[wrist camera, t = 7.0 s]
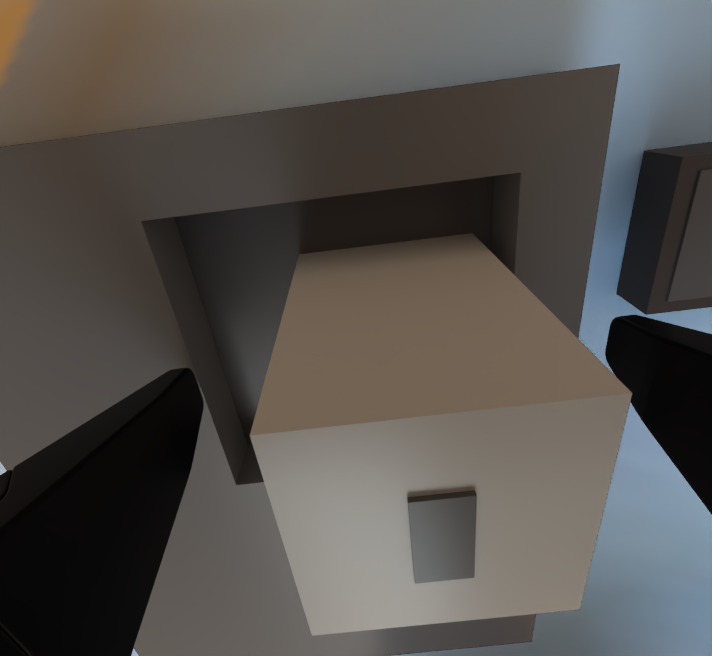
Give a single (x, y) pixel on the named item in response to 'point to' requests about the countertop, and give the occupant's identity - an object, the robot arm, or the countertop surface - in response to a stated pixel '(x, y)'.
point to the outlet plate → (268, 297)
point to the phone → (671, 232)
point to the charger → (432, 439)
